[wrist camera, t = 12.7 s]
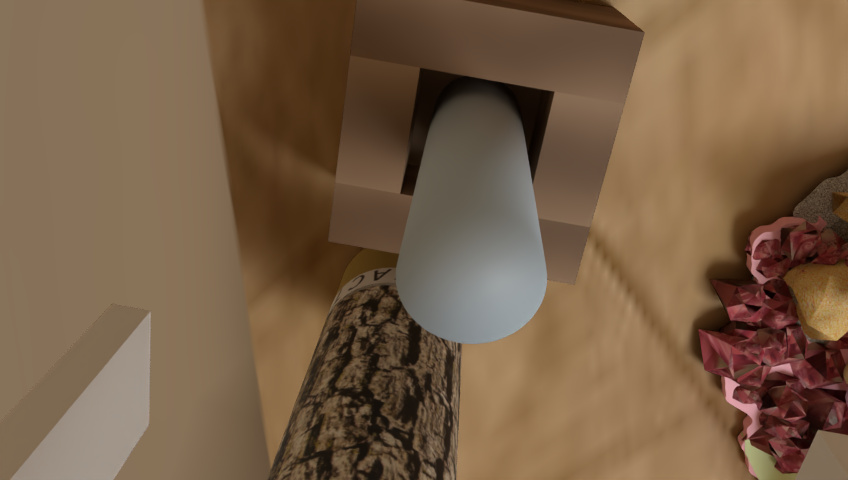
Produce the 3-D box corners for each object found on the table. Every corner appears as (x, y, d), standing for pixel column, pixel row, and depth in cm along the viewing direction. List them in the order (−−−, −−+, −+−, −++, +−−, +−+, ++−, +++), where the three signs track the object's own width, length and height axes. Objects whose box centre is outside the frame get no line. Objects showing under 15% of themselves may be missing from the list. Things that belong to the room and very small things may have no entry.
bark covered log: (466, 340, 43) (450, 838, 20) (348, 342, 43) (203, 827, 21) (461, 230, 40) (436, 665, 17) (336, 234, 41) (153, 658, 18)
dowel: (510, 166, 35) (528, 354, 21) (426, 151, 35) (385, 329, 21) (529, 82, 34) (563, 224, 19) (440, 66, 34) (407, 196, 19)
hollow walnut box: (559, 222, 40) (574, 284, 33) (352, 186, 40) (327, 241, 33) (614, 8, 35) (644, 32, 29) (381, -34, 35) (359, -19, 29)
